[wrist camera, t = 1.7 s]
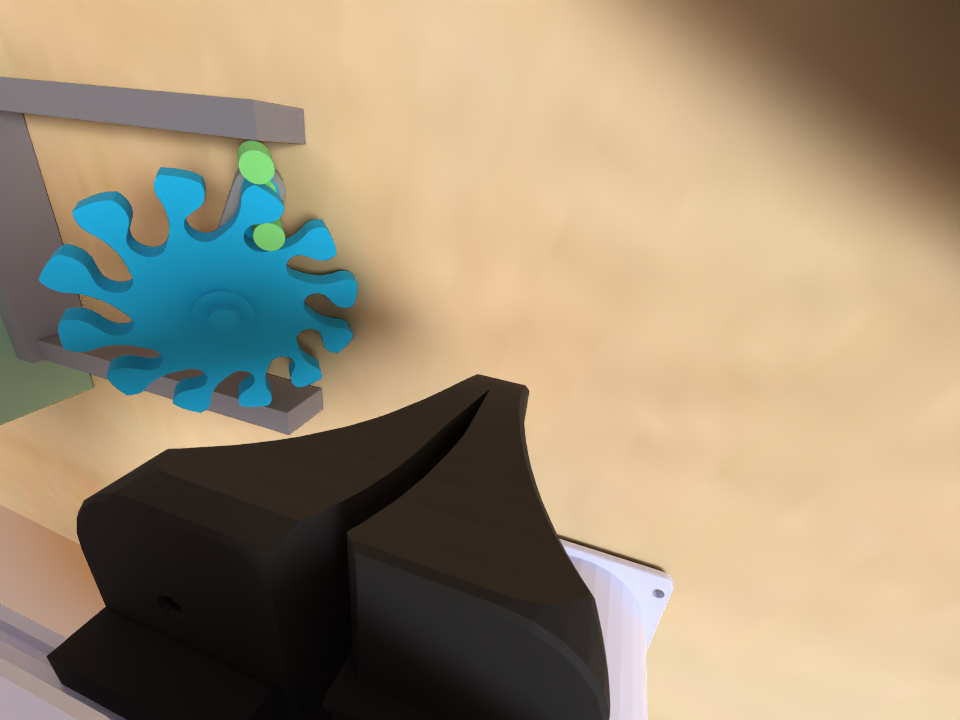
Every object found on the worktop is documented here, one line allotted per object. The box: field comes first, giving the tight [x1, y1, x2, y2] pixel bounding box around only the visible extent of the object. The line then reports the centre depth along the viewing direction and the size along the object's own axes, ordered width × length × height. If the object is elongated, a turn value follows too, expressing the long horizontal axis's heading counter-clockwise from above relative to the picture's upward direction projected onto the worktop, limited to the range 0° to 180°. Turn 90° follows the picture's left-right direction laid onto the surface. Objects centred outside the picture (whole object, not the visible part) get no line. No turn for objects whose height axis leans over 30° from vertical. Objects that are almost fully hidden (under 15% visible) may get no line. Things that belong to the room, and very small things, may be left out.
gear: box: [39, 141, 357, 413], centre depth 18 cm, size 11×6×10 cm
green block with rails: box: [0, 77, 323, 435], centre depth 20 cm, size 20×29×6 cm
